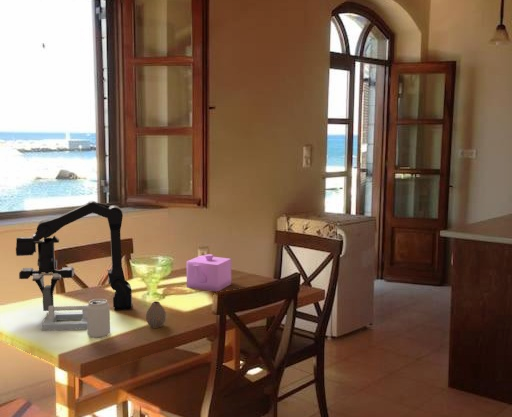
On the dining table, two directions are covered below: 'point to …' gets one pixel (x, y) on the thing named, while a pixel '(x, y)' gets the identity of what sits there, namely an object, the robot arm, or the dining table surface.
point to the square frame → (65, 318)
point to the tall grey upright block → (47, 298)
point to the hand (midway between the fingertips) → (48, 295)
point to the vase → (156, 315)
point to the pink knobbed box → (209, 273)
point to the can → (98, 318)
